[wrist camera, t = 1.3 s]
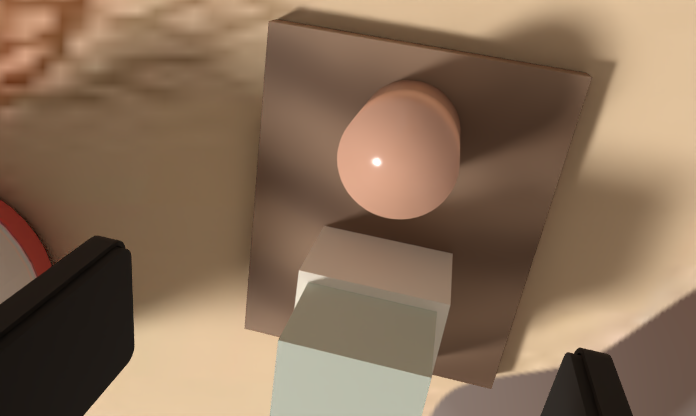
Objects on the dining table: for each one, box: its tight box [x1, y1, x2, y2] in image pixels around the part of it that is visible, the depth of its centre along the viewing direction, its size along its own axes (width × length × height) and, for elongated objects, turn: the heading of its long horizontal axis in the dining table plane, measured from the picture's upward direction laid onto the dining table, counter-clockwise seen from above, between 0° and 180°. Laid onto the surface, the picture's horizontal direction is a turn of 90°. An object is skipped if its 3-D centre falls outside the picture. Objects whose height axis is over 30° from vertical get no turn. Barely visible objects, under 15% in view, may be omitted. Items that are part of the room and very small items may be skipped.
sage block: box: [270, 282, 437, 416], centre depth 24 cm, size 6×6×4 cm
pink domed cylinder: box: [337, 80, 461, 219], centre depth 25 cm, size 5×5×5 cm
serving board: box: [245, 20, 592, 389], centre depth 29 cm, size 18×15×1 cm
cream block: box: [294, 226, 453, 374], centre depth 28 cm, size 7×7×5 cm
